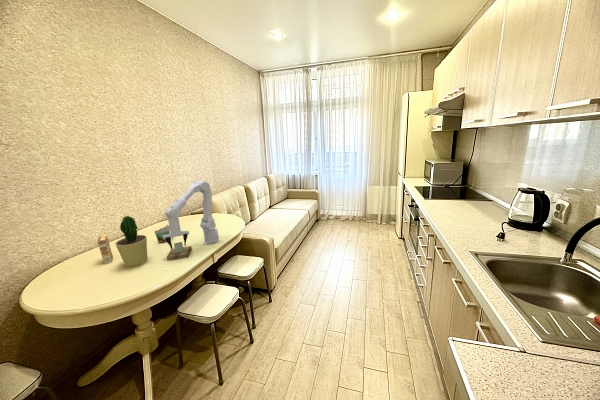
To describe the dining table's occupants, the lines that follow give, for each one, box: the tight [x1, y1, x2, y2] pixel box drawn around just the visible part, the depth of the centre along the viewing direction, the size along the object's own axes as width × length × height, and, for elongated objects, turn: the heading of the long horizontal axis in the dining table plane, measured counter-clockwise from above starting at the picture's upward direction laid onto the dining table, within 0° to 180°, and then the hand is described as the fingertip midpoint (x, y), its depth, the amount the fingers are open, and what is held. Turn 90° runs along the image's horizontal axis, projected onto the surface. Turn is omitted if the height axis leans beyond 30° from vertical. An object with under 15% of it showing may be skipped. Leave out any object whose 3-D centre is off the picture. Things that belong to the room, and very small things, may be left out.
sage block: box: [173, 241, 184, 253], centre depth 152 cm, size 4×4×5 cm
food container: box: [154, 224, 171, 244], centre depth 175 cm, size 12×6×10 cm, turn 168°
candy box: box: [97, 234, 114, 265], centre depth 147 cm, size 9×4×15 cm, turn 35°
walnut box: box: [166, 245, 192, 261], centre depth 152 cm, size 12×12×3 cm
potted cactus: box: [114, 215, 148, 268], centre depth 141 cm, size 15×15×30 cm
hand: (178, 246), depth 151 cm, fingers open, 7 cm apart
